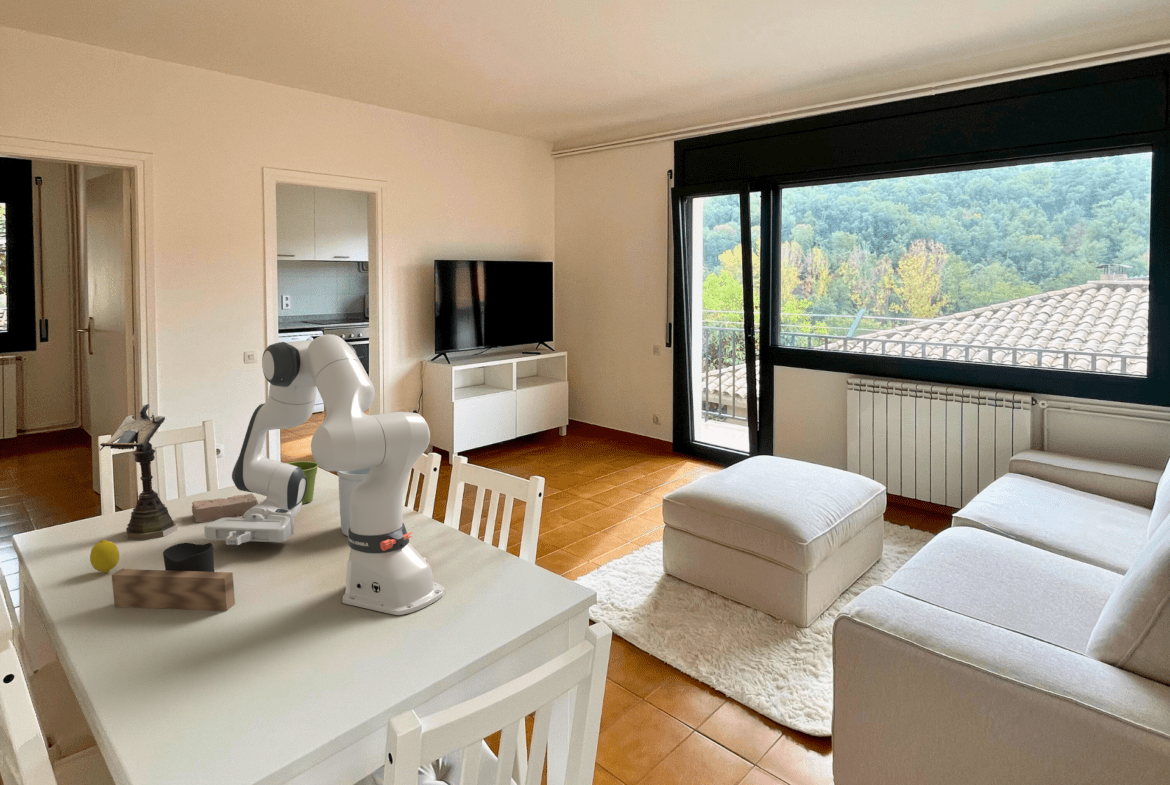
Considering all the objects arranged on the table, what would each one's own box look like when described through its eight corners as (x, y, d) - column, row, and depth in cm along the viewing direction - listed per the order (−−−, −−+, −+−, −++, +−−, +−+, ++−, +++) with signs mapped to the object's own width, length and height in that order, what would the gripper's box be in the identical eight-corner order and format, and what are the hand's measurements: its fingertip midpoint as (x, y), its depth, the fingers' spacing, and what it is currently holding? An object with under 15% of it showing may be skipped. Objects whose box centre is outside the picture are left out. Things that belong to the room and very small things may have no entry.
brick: (253, 505, 209) (252, 490, 209) (260, 513, 203) (259, 497, 202) (192, 516, 200) (190, 501, 199) (196, 525, 193) (195, 509, 192)
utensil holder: (386, 516, 200) (384, 457, 197) (404, 532, 188) (402, 469, 185) (334, 526, 192) (330, 464, 189) (348, 543, 180) (345, 477, 177)
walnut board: (235, 603, 146) (232, 572, 145) (227, 610, 143) (224, 578, 142) (124, 600, 147) (121, 568, 146) (114, 606, 144) (111, 574, 143)
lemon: (95, 569, 162) (92, 537, 161) (123, 566, 164) (120, 534, 163) (88, 579, 157) (84, 545, 156) (117, 575, 159) (113, 542, 158)
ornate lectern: (147, 548, 175) (133, 412, 169) (100, 545, 177) (85, 410, 171) (192, 525, 191) (181, 400, 186) (149, 523, 193) (136, 399, 187)
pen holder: (206, 579, 158) (202, 537, 156) (223, 591, 152) (220, 548, 150) (160, 593, 151) (156, 549, 149) (177, 606, 145) (172, 561, 143)
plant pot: (324, 504, 211) (322, 468, 209) (281, 510, 205) (279, 473, 203) (317, 493, 221) (315, 459, 219) (277, 499, 215) (274, 463, 213)
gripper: (221, 509, 180) (188, 528, 166) (298, 511, 179) (272, 530, 165) (223, 532, 181) (190, 553, 168) (299, 534, 180) (273, 555, 167)
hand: (231, 542), depth 166 cm, fingers closed
